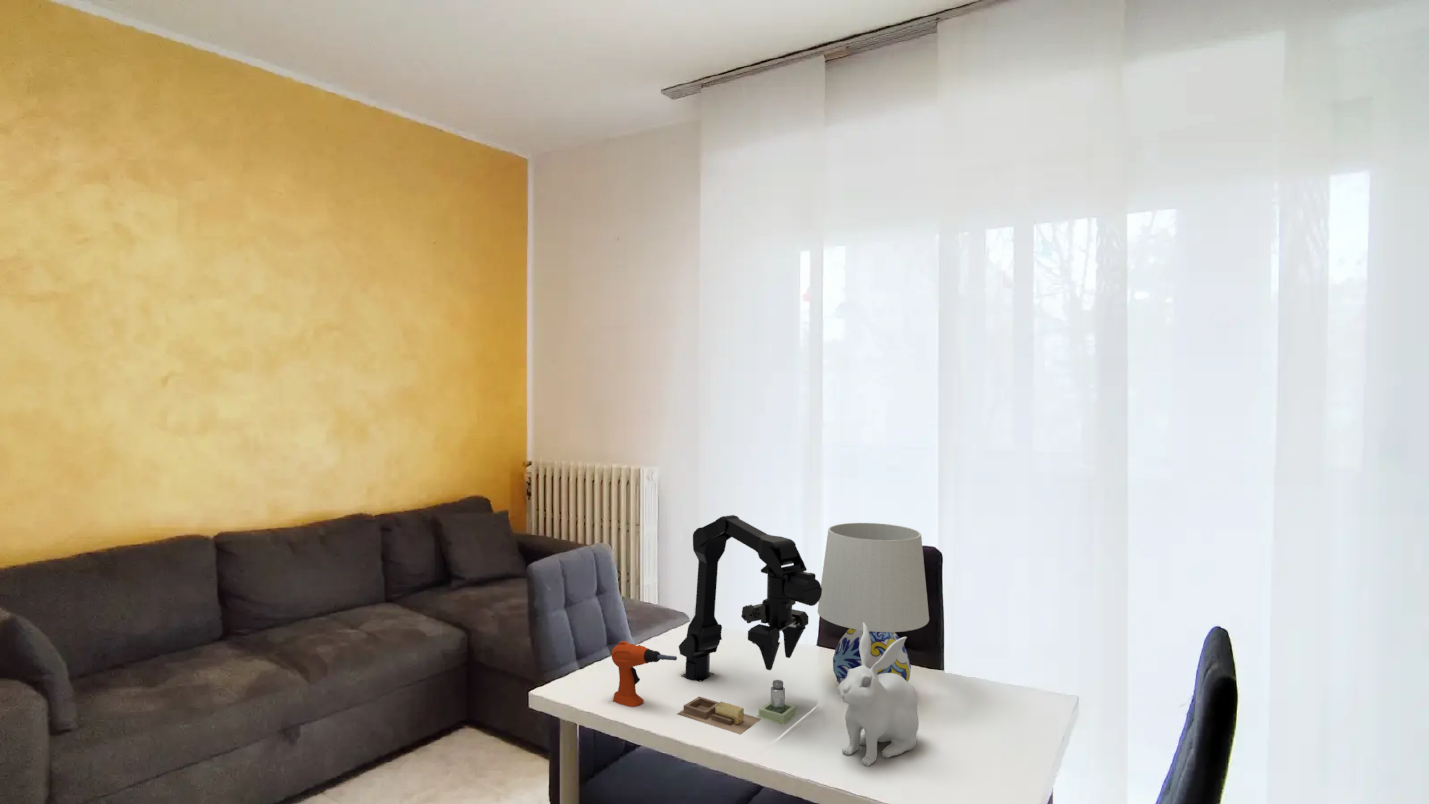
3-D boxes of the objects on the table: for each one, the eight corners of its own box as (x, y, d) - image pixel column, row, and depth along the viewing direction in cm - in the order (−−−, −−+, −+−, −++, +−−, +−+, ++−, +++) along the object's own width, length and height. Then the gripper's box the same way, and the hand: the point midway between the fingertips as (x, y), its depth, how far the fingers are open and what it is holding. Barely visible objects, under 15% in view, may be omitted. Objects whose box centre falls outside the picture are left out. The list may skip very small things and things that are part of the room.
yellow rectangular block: (720, 713, 166) (721, 701, 166) (743, 720, 163) (743, 708, 163) (715, 717, 164) (715, 705, 164) (737, 724, 161) (738, 712, 161)
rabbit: (821, 753, 150) (823, 632, 150) (885, 726, 163) (888, 615, 163) (864, 777, 141) (867, 649, 141) (929, 747, 154) (932, 629, 154)
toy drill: (675, 716, 163) (669, 648, 164) (609, 707, 172) (603, 643, 173) (687, 708, 167) (681, 642, 168) (621, 700, 177) (616, 637, 177)
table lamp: (888, 665, 199) (891, 519, 199) (950, 707, 174) (954, 539, 173) (798, 676, 191) (800, 523, 190) (848, 721, 165) (852, 545, 164)
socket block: (699, 702, 174) (699, 693, 174) (761, 721, 164) (761, 711, 164) (676, 716, 166) (676, 707, 166) (740, 737, 157) (740, 727, 157)
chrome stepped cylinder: (774, 710, 169) (775, 678, 169) (787, 713, 167) (787, 681, 167) (768, 715, 166) (768, 682, 166) (780, 719, 164) (780, 685, 164)
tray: (771, 708, 171) (771, 698, 171) (798, 715, 168) (798, 706, 168) (756, 719, 166) (756, 709, 166) (784, 727, 162) (784, 717, 162)
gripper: (768, 581, 178) (767, 644, 179) (727, 598, 163) (726, 668, 163) (810, 588, 172) (808, 654, 172) (771, 607, 157) (770, 680, 157)
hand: (778, 663), depth 166 cm, fingers open, 9 cm apart
